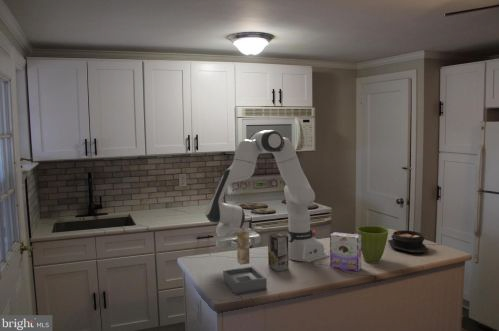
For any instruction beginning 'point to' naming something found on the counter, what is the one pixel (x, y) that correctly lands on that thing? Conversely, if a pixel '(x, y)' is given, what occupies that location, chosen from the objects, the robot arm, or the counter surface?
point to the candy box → (345, 251)
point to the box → (244, 280)
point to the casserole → (408, 241)
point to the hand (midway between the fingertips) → (243, 245)
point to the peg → (243, 246)
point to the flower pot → (372, 242)
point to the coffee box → (278, 251)
